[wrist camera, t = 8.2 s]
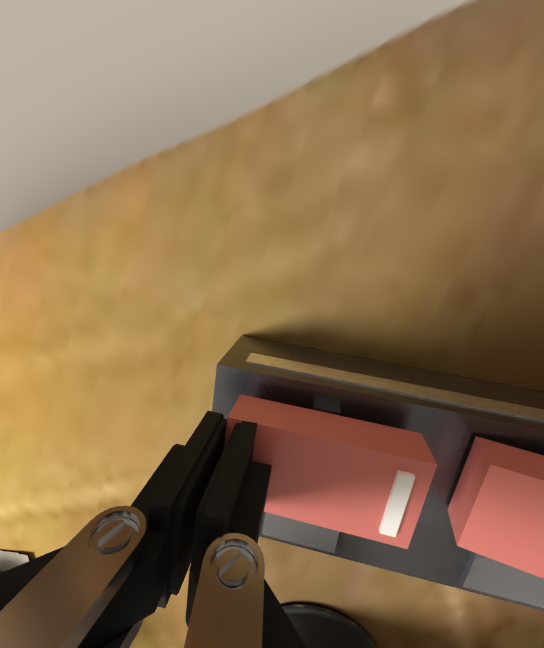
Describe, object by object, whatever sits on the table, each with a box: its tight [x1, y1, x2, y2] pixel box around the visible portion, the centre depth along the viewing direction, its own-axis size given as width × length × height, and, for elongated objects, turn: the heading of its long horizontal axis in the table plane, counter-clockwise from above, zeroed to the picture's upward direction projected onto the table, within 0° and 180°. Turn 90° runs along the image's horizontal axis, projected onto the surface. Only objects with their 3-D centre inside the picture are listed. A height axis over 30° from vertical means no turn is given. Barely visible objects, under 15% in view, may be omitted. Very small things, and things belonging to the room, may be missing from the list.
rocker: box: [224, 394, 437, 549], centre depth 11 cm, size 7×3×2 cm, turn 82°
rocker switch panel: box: [212, 335, 544, 611], centre depth 13 cm, size 26×8×4 cm, turn 82°
